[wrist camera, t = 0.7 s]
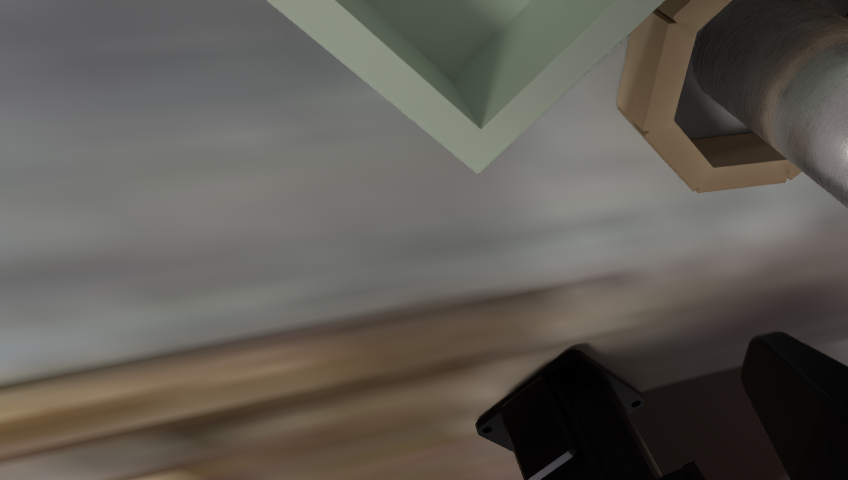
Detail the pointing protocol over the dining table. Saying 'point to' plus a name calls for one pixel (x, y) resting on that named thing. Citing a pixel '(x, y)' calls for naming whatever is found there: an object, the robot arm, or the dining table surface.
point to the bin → (469, 58)
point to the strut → (783, 80)
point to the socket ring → (659, 95)
